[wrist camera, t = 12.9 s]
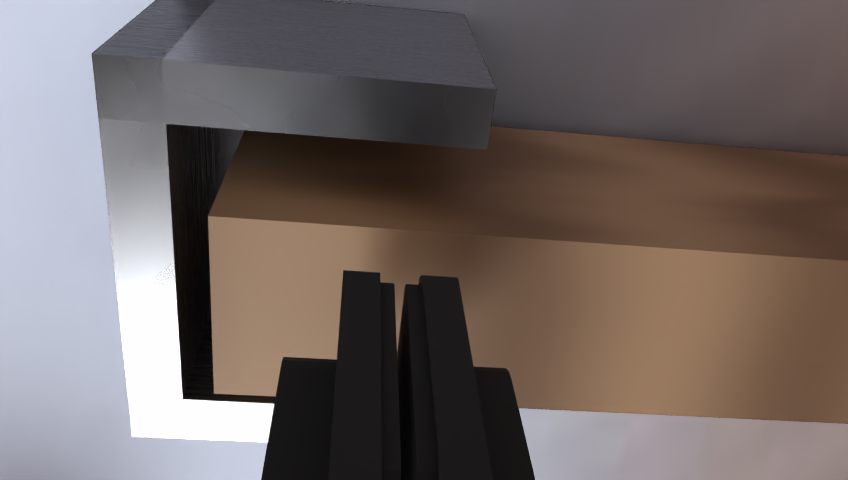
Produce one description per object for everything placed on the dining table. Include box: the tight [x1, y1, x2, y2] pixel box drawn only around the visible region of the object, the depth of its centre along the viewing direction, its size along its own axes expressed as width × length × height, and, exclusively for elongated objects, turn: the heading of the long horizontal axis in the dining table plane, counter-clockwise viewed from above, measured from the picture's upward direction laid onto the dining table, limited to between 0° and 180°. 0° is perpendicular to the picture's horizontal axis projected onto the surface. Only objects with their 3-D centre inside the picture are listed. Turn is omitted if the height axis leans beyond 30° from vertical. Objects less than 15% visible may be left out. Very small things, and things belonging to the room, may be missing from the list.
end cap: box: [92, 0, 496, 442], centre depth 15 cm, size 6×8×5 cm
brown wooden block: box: [208, 126, 848, 424], centre depth 16 cm, size 22×4×5 cm, turn 84°
